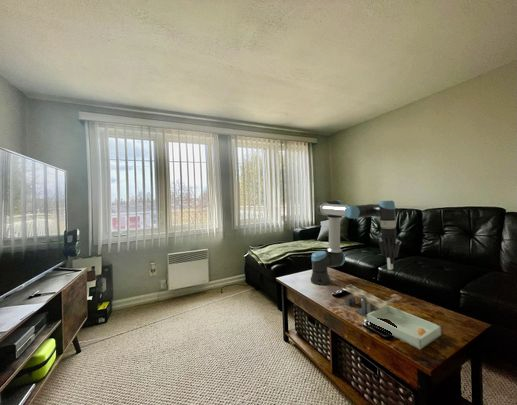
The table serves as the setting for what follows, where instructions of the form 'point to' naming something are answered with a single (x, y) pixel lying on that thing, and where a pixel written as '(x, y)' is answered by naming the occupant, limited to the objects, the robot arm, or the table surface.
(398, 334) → the tray
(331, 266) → the robot arm
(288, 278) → the table surface
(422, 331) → the ball
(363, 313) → the stand
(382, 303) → the lever
